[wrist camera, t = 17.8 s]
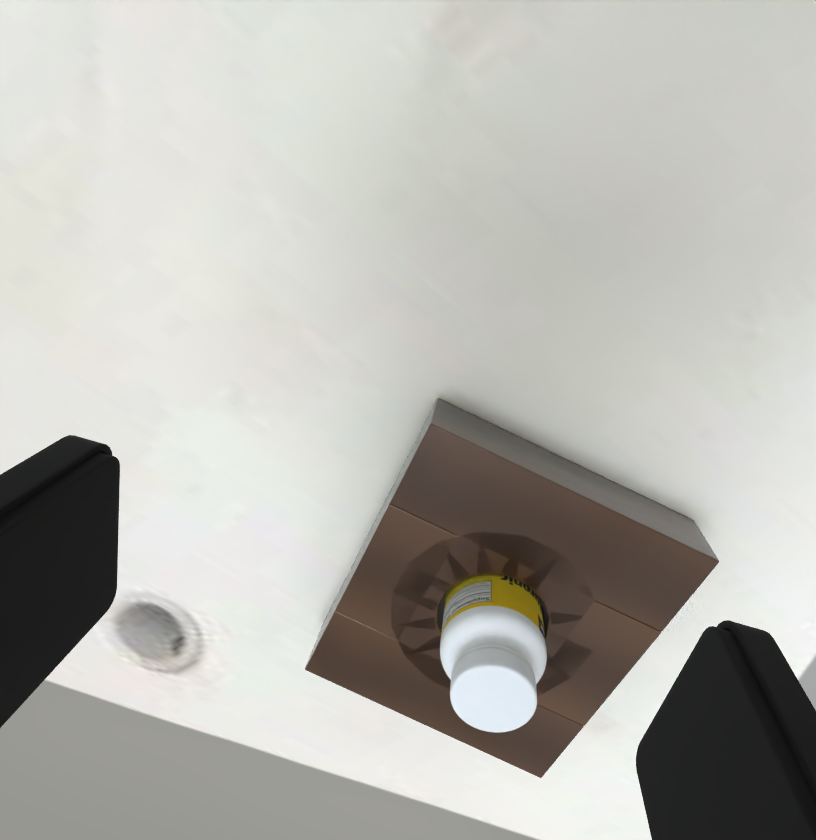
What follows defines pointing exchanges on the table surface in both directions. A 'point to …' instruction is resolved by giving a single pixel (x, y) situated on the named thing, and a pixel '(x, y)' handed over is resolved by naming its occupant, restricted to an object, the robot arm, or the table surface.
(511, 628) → the supplement bottle
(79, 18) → the table surface
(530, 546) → the holder block
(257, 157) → the table surface
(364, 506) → the table surface
